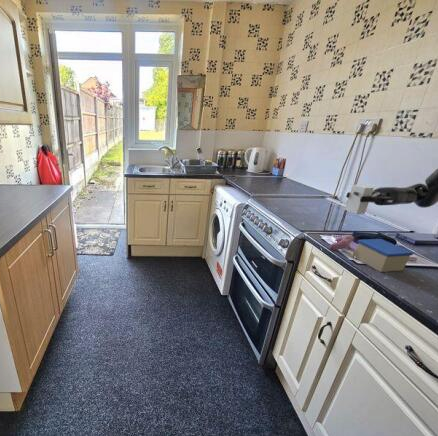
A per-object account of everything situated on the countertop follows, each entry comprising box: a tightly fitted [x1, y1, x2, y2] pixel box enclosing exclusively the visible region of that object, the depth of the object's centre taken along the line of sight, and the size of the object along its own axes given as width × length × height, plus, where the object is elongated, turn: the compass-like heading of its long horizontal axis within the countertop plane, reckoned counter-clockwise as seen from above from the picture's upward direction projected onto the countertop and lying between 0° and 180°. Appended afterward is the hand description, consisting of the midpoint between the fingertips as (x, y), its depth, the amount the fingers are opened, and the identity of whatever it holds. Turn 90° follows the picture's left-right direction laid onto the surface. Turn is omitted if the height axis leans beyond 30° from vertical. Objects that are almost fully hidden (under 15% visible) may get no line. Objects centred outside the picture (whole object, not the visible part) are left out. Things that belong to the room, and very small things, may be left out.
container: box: [353, 238, 414, 273], centre depth 86 cm, size 11×10×7 cm
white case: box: [344, 184, 375, 215], centre depth 101 cm, size 6×4×11 cm
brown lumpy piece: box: [329, 233, 356, 251], centre depth 97 cm, size 10×5×7 cm, turn 131°
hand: (354, 197), depth 100 cm, fingers closed on white case, 5 cm apart
